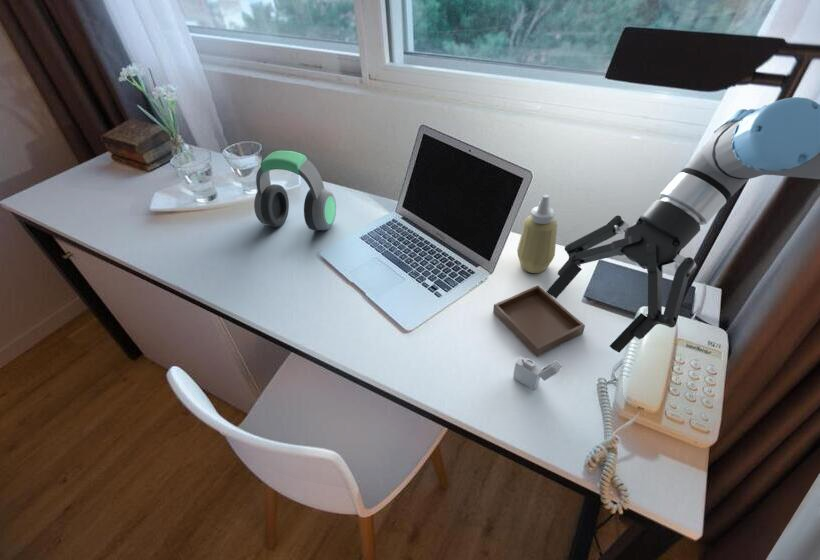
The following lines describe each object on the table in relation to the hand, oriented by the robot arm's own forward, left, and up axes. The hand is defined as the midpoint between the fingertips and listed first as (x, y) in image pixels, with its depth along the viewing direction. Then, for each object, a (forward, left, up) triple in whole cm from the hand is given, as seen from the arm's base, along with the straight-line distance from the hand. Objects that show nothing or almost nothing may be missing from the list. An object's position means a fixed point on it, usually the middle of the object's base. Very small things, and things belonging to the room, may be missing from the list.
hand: (580, 320), depth 69 cm
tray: (+11, -3, -12) cm, 16 cm away
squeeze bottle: (+25, -14, -12) cm, 31 cm away
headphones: (+70, +27, -12) cm, 76 cm away
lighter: (0, +7, -12) cm, 14 cm away
